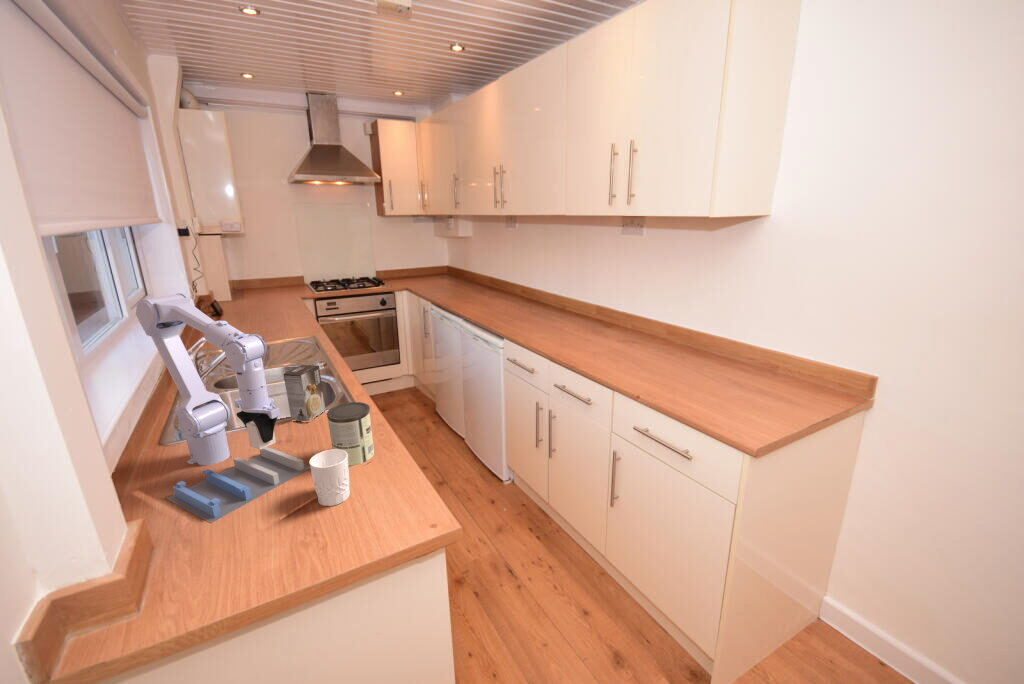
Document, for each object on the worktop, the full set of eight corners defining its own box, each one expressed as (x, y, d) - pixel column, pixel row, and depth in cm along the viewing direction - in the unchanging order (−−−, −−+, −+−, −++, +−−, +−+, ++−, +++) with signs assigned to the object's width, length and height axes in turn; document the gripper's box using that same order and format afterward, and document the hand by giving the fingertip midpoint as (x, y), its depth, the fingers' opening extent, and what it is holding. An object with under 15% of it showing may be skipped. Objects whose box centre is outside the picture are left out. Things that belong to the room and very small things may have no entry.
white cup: (343, 483, 106) (338, 445, 103) (358, 497, 101) (353, 457, 98) (309, 497, 101) (303, 458, 98) (323, 513, 95) (317, 471, 93)
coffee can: (334, 453, 120) (327, 405, 116) (374, 446, 123) (369, 399, 119) (332, 473, 110) (325, 421, 107) (375, 465, 114) (369, 414, 110)
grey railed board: (167, 502, 100) (163, 486, 99) (268, 453, 120) (265, 440, 119) (211, 527, 91) (207, 510, 90) (312, 470, 112) (310, 456, 110)
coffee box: (309, 410, 148) (302, 364, 144) (326, 411, 147) (320, 365, 142) (290, 421, 139) (282, 373, 135) (308, 423, 138) (301, 374, 134)
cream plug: (250, 445, 108) (246, 423, 106) (265, 438, 111) (261, 417, 110) (260, 449, 106) (256, 426, 105) (275, 442, 110) (272, 420, 108)
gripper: (287, 386, 105) (296, 438, 108) (250, 376, 112) (259, 426, 115) (259, 396, 99) (268, 451, 102) (221, 385, 106) (232, 437, 109)
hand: (262, 438), depth 108 cm, fingers closed on cream plug, 4 cm apart
